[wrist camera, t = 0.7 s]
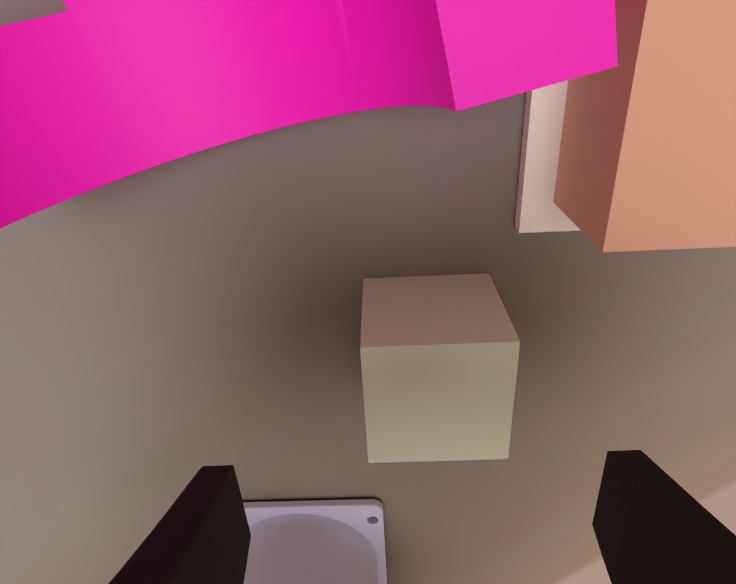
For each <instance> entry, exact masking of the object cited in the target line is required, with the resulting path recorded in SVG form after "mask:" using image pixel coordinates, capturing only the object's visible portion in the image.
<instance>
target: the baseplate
mask: <svg viewBox="0 0 736 584" xmlns="http://www.w3.org/2000/svg"><path fill="white" fill-rule="evenodd" d="M567 86H568V80H567V81H563V82H560V83H556V84H553V85H549V86H545V87H542V88H538V89H535V90H531V91H528V92H526V102H525V113H524V125H523V136H522V148H521V159H520V171H519V182H518V194H517V205H516V217H515V228H516V229H517V231H518V232H519V233H532V232H555V231H578V230H580V229H579V228H578V227H577V226H576V225H575V224H574V223H573V222H572V221H571V220H570V219H569V218H568V217H567V216H566V215H565V214H564V213H563V212H562V211H561V210H560V209H559V208H558V207H557V206H556V205H555V204H554V203H553V201H554V193H555V184H556V176H557V168H558V160H559V152H560V143H561V135H562V127H563V119H564V111H565V102H566V94H567Z"/></svg>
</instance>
